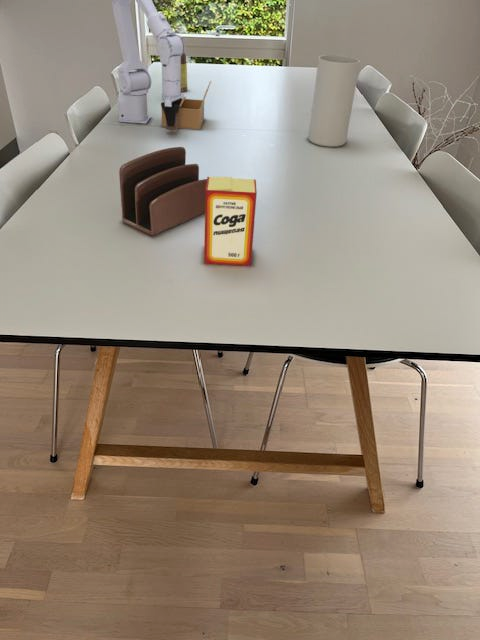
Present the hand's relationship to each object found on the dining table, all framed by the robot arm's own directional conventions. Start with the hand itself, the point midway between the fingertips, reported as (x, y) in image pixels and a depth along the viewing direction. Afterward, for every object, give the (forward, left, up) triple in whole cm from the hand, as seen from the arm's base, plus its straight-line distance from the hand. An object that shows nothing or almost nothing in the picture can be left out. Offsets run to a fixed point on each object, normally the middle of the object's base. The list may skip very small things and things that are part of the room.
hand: (172, 124), depth 174 cm
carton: (+2, +12, -3) cm, 13 cm away
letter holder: (+9, -63, -3) cm, 63 cm away
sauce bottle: (-6, +57, -3) cm, 58 cm away
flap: (+9, +12, +7) cm, 17 cm away
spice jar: (0, 0, -1) cm, 1 cm away
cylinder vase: (+51, +3, -3) cm, 51 cm away
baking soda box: (+24, -80, -3) cm, 83 cm away
